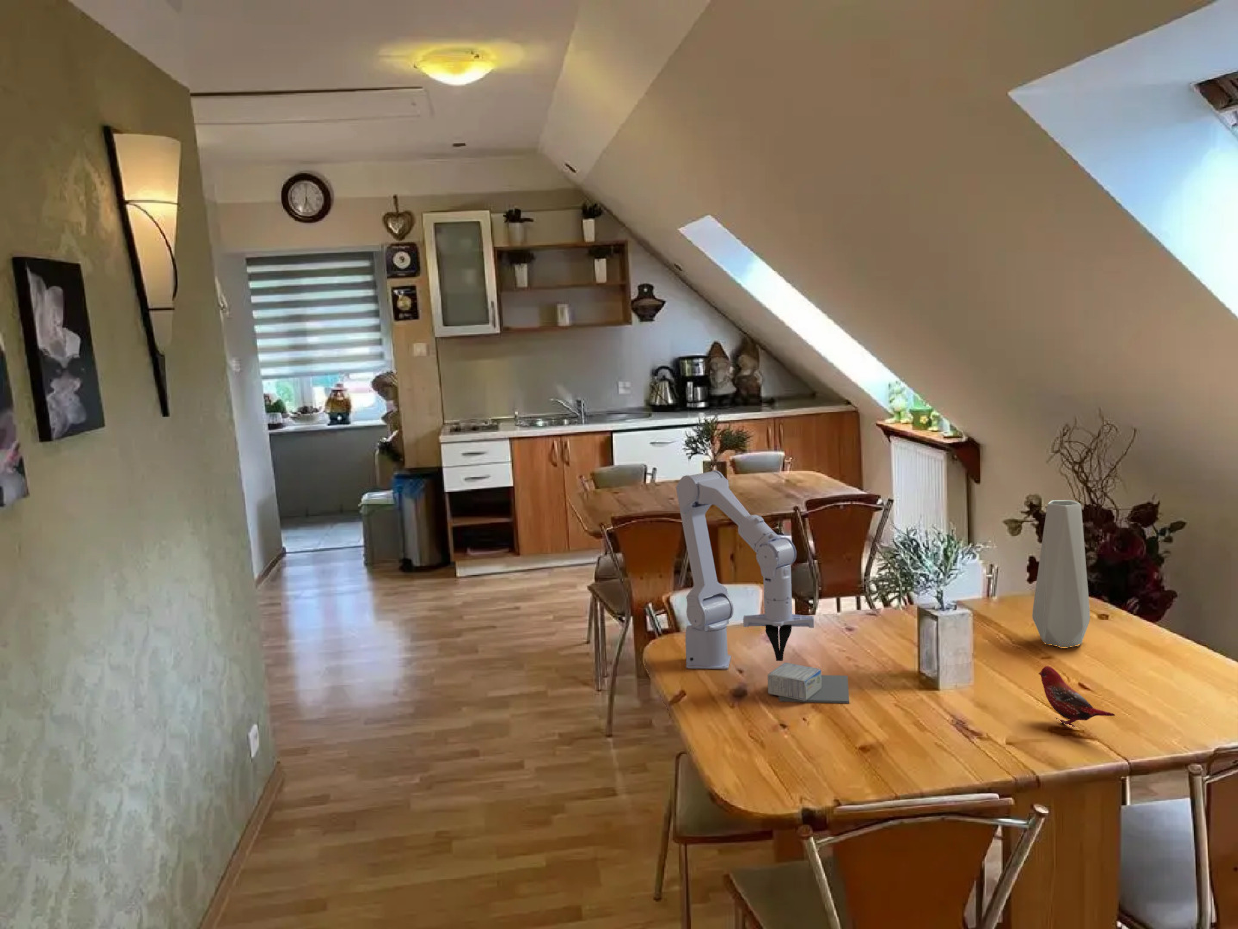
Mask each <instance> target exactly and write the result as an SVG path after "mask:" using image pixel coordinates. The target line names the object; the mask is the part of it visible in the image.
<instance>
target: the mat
mask: <svg viewBox="0 0 1238 929" xmlns="http://www.w3.org/2000/svg"><path fill="white" fill-rule="evenodd" d="M821 678H822V684H821V689H820V690H819V691H817V692H816V693H815V694H813V695H812V696H811V697H810V698H808V699H807V700H806V701H803V700H798V699H793V698H788V697H783V696H778V702H791V703H818V704H819V703H820V704H821V703H822V704H823V703H825V704H850V694H849V693H850V692H849V679H848V675H834V674H833V675H831V674H830V675H829V674H828V675H827V674H821Z"/></svg>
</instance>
